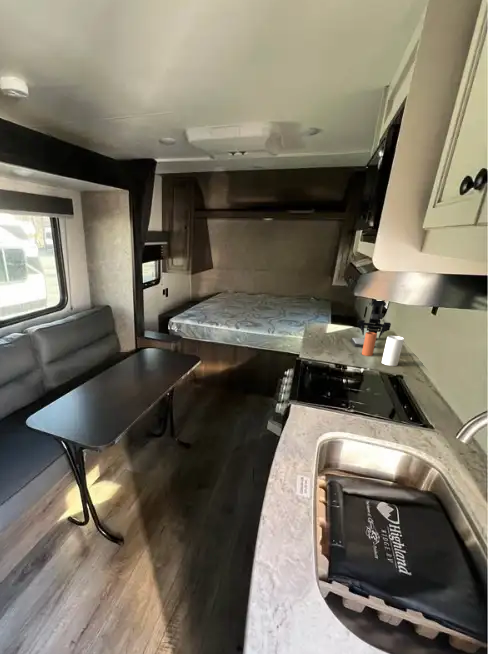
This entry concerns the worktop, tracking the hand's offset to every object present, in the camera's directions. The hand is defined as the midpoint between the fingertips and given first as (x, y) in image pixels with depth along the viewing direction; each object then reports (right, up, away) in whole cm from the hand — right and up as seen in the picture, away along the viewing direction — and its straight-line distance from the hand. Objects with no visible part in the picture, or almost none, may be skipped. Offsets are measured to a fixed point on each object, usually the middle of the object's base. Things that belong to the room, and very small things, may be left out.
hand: (371, 336), depth 209 cm
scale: (+5, -4, +21) cm, 22 cm away
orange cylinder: (-2, -12, +1) cm, 12 cm away
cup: (+3, -18, -14) cm, 23 cm away
